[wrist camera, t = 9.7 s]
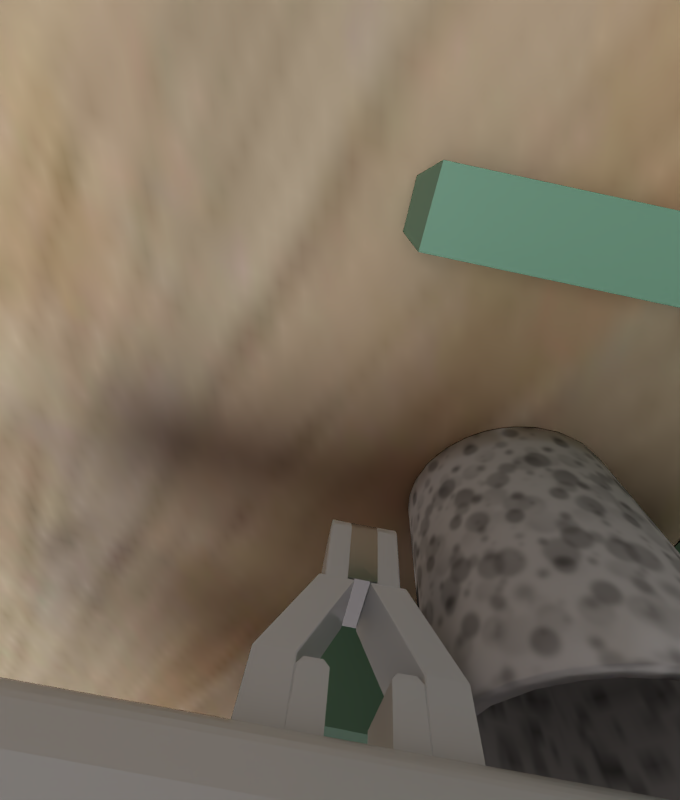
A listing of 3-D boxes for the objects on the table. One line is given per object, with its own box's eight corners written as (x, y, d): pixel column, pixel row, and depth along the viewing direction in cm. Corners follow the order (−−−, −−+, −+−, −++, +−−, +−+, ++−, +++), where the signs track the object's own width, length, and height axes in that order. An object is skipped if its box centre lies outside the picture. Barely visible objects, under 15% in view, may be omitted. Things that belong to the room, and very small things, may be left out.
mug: (371, 521, 14) (367, 754, 8) (499, 389, 11) (637, 607, 5) (569, 625, 16) (682, 877, 10) (725, 536, 13) (1016, 821, 7)
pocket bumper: (305, 626, 17) (281, 769, 13) (416, 175, 9) (457, 151, 4) (579, 681, 18) (646, 842, 13) (967, 294, 9) (1560, 390, 4)
